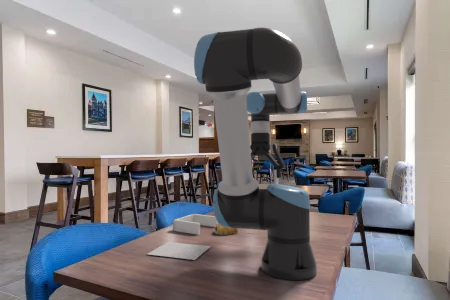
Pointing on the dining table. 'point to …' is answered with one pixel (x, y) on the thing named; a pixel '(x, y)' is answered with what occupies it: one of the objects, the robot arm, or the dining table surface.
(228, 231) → the pastry
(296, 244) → the robot arm
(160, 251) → the paper stack
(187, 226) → the box
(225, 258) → the dining table surface
